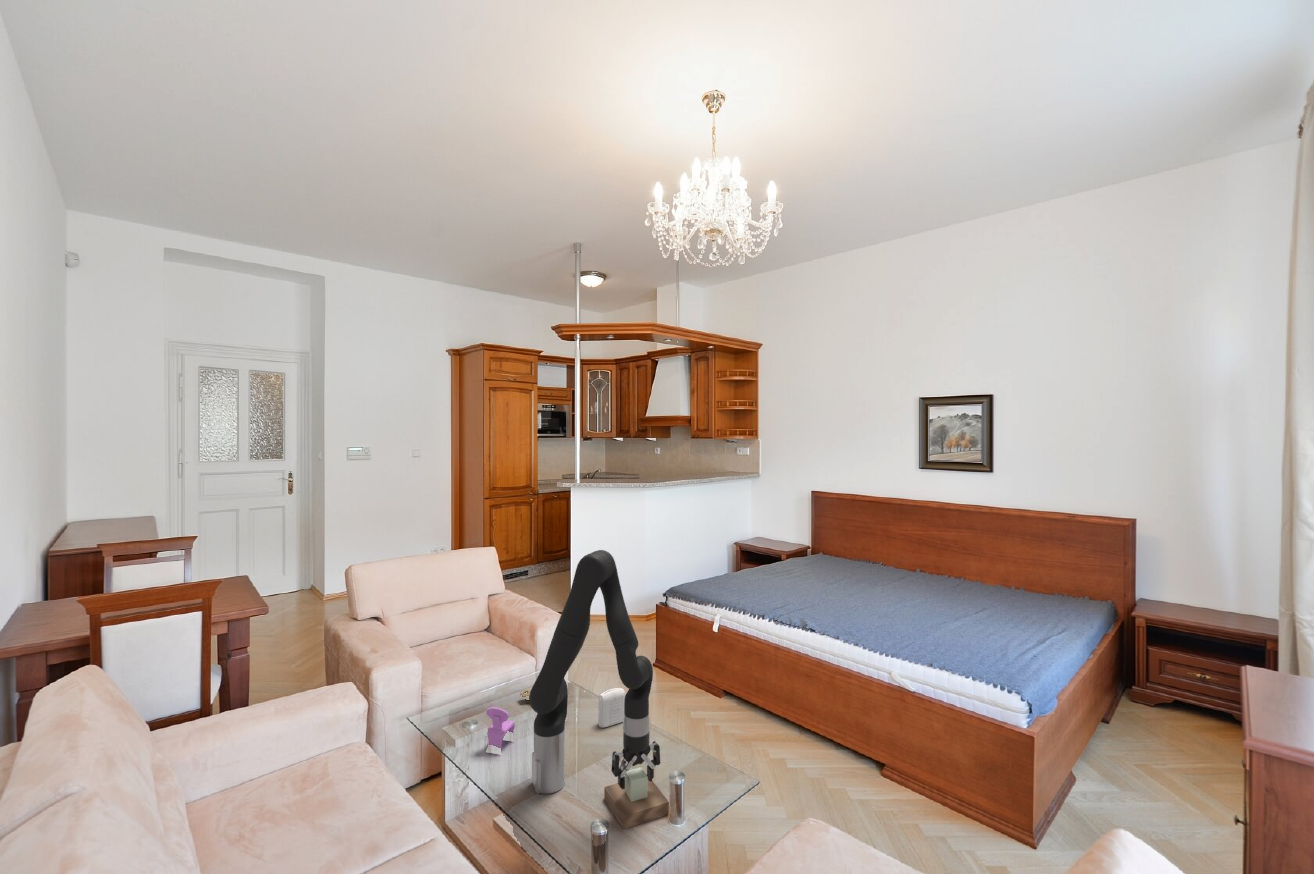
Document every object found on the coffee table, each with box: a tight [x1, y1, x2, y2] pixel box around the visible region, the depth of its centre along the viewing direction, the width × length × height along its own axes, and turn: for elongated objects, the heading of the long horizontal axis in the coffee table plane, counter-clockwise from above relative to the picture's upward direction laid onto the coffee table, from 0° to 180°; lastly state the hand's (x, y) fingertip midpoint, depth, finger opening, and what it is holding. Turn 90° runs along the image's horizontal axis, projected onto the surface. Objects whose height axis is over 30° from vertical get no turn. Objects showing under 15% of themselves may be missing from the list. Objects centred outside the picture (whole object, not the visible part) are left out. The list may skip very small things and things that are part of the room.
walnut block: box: [603, 780, 670, 830], centre depth 169 cm, size 14×14×4 cm
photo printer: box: [597, 687, 626, 729], centre depth 214 cm, size 10×4×12 cm, turn 123°
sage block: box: [624, 766, 648, 802], centre depth 169 cm, size 5×5×6 cm
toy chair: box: [485, 706, 516, 749], centre depth 198 cm, size 8×9×15 cm
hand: (636, 783), depth 169 cm, fingers open, 8 cm apart
